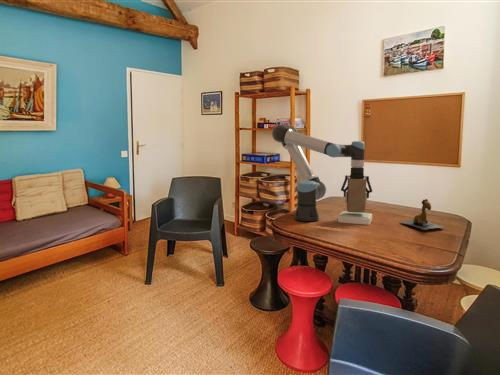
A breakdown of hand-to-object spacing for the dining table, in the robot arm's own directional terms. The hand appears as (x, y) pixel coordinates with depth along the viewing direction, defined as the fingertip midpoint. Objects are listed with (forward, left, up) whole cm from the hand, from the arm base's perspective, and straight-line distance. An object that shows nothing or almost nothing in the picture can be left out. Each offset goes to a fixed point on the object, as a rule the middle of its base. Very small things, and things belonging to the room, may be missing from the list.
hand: (355, 203), depth 207 cm
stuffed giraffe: (+37, +4, -12) cm, 38 cm away
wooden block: (0, 0, -5) cm, 5 cm away
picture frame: (0, 0, -11) cm, 11 cm away
